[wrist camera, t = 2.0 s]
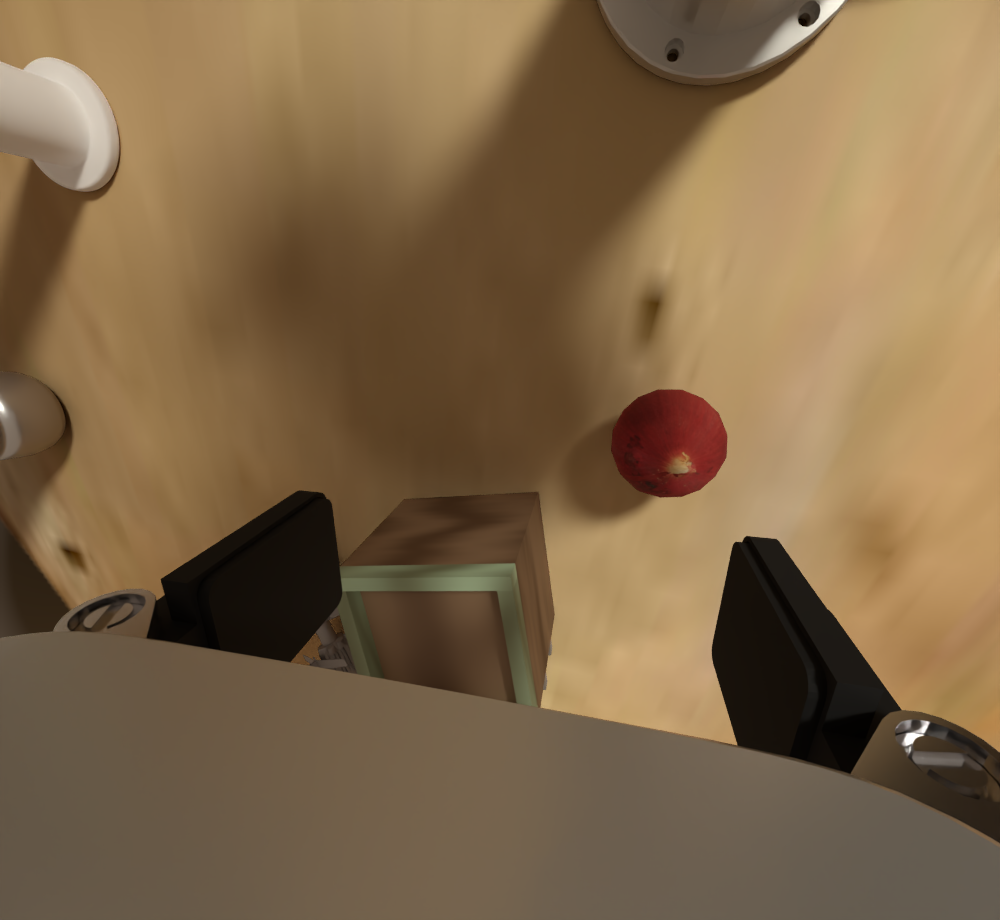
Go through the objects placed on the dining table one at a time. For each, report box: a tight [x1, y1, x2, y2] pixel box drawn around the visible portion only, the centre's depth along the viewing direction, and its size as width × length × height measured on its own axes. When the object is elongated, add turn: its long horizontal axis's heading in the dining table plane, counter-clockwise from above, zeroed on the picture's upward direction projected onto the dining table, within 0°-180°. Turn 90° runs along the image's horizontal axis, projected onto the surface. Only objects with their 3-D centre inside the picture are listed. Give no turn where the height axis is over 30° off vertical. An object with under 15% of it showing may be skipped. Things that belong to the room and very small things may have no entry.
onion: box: [611, 390, 727, 497], centre depth 25 cm, size 6×6×8 cm
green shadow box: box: [337, 492, 555, 708], centre depth 30 cm, size 10×11×10 cm
